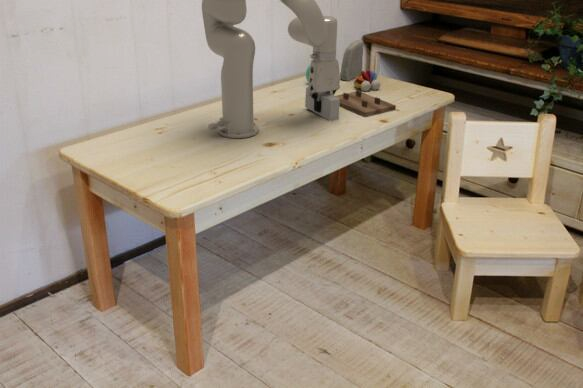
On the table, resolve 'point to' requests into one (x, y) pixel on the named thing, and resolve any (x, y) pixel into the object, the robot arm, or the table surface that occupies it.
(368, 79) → the rainbow petal toy
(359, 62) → the decorative stone
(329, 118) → the gray rectangular block
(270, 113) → the table surface
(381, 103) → the brown board
